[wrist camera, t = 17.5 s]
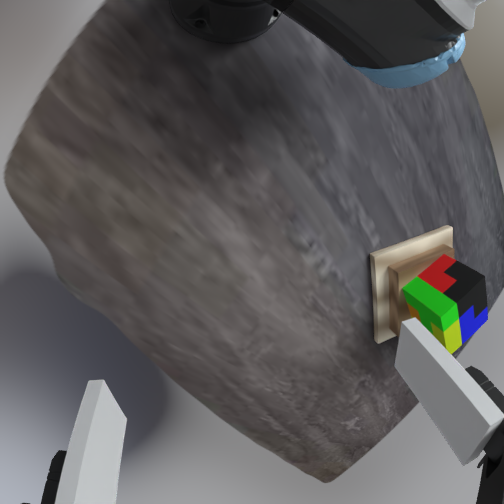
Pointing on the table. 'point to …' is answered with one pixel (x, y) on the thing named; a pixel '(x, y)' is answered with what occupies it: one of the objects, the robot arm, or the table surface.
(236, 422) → the table surface
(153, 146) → the table surface
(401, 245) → the build plinth
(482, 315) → the puzzle toy
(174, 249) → the table surface
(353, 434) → the table surface
